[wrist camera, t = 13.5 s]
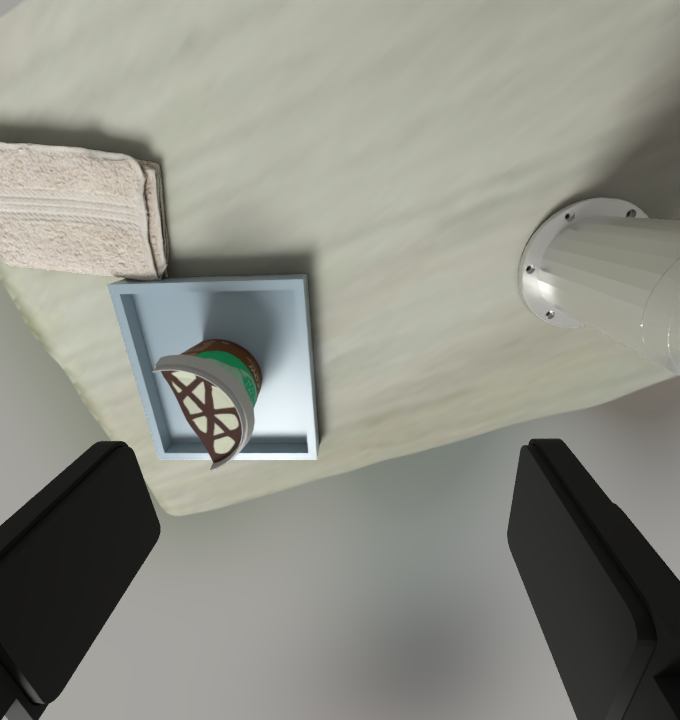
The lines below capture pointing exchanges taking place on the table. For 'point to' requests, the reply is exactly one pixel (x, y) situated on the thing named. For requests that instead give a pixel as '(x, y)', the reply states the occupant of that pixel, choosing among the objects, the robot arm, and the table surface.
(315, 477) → the table surface
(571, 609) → the robot arm
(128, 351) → the tray
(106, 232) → the washcloth
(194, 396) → the food container
